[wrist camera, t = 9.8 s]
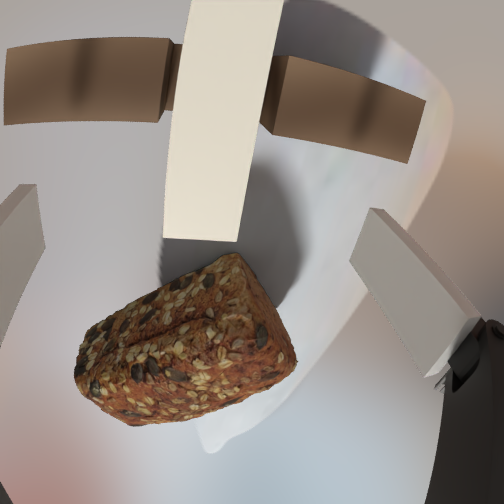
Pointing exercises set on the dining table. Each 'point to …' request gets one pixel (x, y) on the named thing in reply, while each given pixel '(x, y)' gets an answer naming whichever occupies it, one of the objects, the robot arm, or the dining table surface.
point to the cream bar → (217, 115)
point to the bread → (186, 348)
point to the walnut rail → (164, 87)
